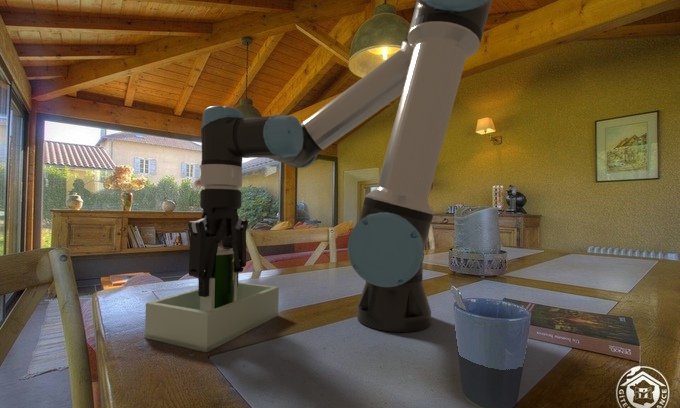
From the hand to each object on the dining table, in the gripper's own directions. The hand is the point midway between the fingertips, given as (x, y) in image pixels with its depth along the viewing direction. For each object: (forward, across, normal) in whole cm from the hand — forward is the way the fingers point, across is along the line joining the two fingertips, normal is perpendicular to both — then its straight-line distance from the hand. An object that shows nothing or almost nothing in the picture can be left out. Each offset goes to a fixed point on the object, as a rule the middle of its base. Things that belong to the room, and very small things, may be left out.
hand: (219, 308), depth 63 cm
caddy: (+3, 0, 0) cm, 3 cm away
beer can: (0, 0, 0) cm, 1 cm away
